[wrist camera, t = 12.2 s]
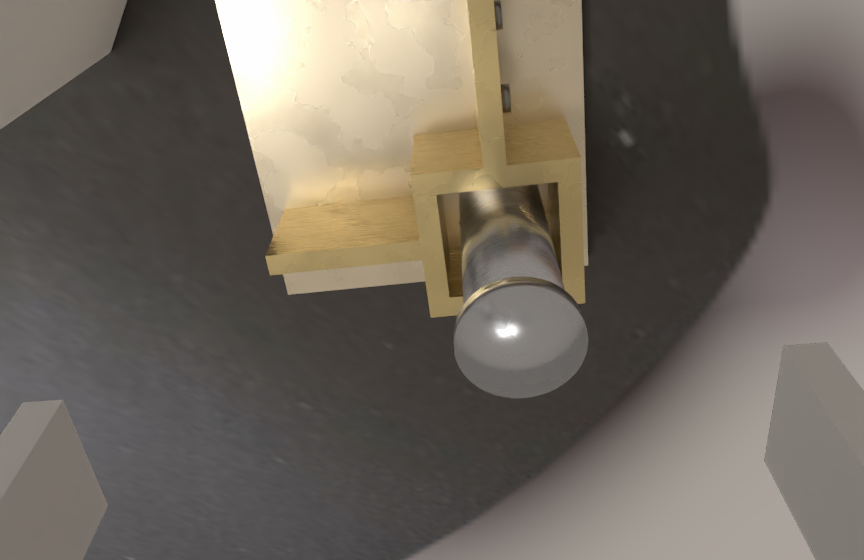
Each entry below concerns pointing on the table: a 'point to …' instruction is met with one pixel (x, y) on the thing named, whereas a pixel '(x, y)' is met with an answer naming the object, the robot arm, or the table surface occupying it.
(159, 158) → the table surface
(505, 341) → the pin
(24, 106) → the milk
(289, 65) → the open box on plate
